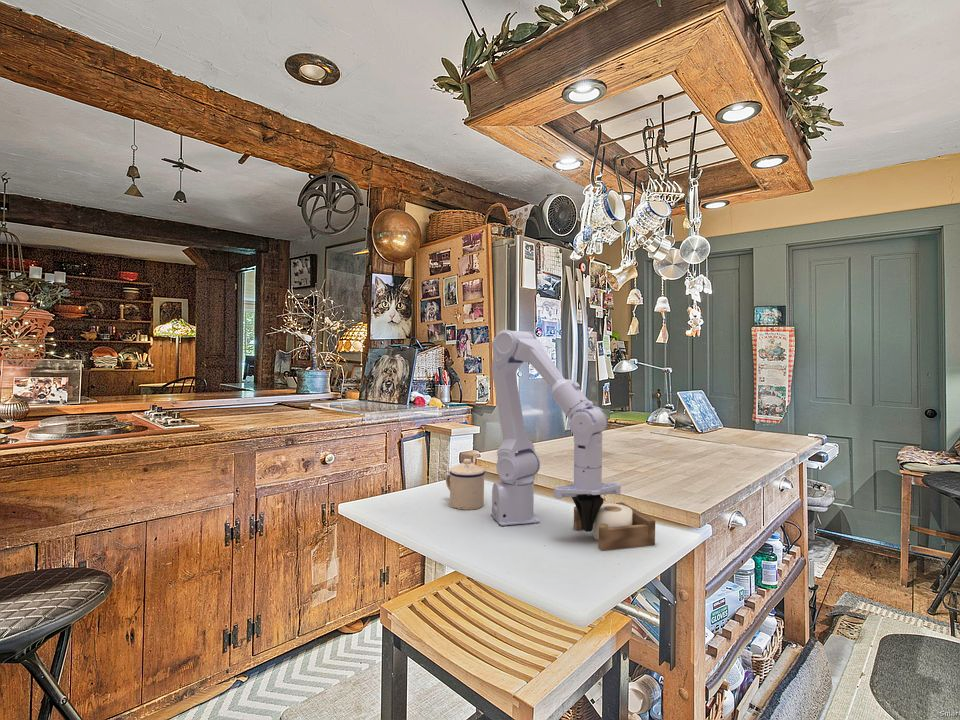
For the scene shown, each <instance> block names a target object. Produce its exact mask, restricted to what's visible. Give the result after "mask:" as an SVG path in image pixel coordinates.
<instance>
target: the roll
mask: <svg viewBox="0 0 960 720" xmlns="http://www.w3.org/2000/svg"><path fill="white" fill-rule="evenodd" d="M599 524H607V525H608V528H609V527H619V526H630V525H632V509H631V508H629V507H627V506H624V505H620V504H616V503H612V502H608V503H607V502H603V504H602V506H601V507H600V509H599V511H598V513H597V515H596V518H595V520H594V524H593V529H592V537H593V538H594V540H596V541H598V542H599Z"/></svg>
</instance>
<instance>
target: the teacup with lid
mask: <svg viewBox="0 0 960 720" xmlns="http://www.w3.org/2000/svg"><path fill="white" fill-rule="evenodd" d="M485 474H486V471H485V469H484V467H482V466H479V465H477V464H475V463H474V462H472V459H471V458H463V462H462V463H459V464H458V465H455V466H452V467H451V468H450V469H449V472H448V473H447V474H446V475H445V484H446V487H447V489H448V491H449V505H450V506H451V507H452V508H453V507H454V508H453V509H456V508H457V509H456V510H461V509H463V510H462V511H472V510H473V509H474V510H477V509H481V508H482V507H483V506H484V505H485ZM480 507H481V508H480Z"/></svg>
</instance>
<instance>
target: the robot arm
mask: <svg viewBox="0 0 960 720" xmlns="http://www.w3.org/2000/svg"><path fill="white" fill-rule="evenodd" d="M543 347H544V346H543V342H542V341H541V340H540V339H539V338H538V337H537V335H536V334H535V333H534V332H532V331H530V330H525V331H519V330H510V329H503V330H500V331H499V332H497V334H496V335H495V336H494V339H493V340H492V341H491V349H492V354H493V356H492V363H491V374H492V375H491V376H492V379H493V380H492V381H493V385H494V391H495V399H496V404H497V410H498V415H499V421H500V422H499V423H500V428H501V434H502V443H501V444H500V446H499V448H498V449H497V451H496V454H497V461H496V465H495V466H496V473H497V475H498V477H499V478H500V481H498V482H494V483H493V484H492V490H491V499H492V500H491V512H490V515H491V516H492V517H493V518H494V520H495V521H496V522H497V523H498V524H499V525H500V526H501V527H502V526H513V525H524V524H525V525H527V524H535V523H536V524H537V523H540V519H539V518H538V517H536V516H535V514H534V505H535V504H534V496H535V494H534V493H535V492H534V491H535V488H534V487H535V486H534V485H535V480H536V475H537V474H538V473H539V471H540V469H541V460H540V457H539V455H538V453H537V451H536V450H535V445H534V443H533V442H532V441H531V440H530V439H528V437H527V433H526V427H525V422H524V415H523V409H522V405H521V404H522V403H521V399H520V391H519V387H518V380H517V375H516V372H517V371H518V370H519V368H520V367H521V366H522V365H523V364H524V363H528V364H530V365H531V366H532V367H533V368H534V369H535V371H536V372H537V373H538V374H539V375H540V377H542V378H543V380H544V381H545V382H546V383H547V384H548V385H549V387H550V388H551V395H550V396H551V398H552V399H553V400H554V402H556V404H557V405H558V406H559V408H560V409H561V411H562V412H563V413H564V414H565V416H566V417H567V418H568V420H569V421H568V427H569V430H570V431H571V433H572V435H573V443H574V445H573V450H574V451H573V483H571V484H570V483H569V484H566V485H562V486H561V485H559V486H553V497H554V498H556V499H557V500H561V499H563V498H571V499H572V500H573V503H574V505H575V506H576V508H577V510H578V513H579V516H580V520H581V525H582V529H583V530H582V531H585V532H586V533H587V532H593V529H592V528H593V524H594V520H595V518H596V515H597V513H598V511H599V509H600V507H601V506H602V504H603V503H604V497H602V495H603V496H604V495H618V496H619V495H621V492H622V491H621V487H622V486H621V485H620V484H618V483H616V482H612V483H611V482H602V474H603V473H602V470H603V432H604V431H605V430H606V429H607V426H608V418H607V414H606V413H605V411H604V409H602V407H599V406H595V405H594V403H593V401H592V400H589V399H588V398H587V396H586V395H585V394H584V393H583V391H582V390H581V389H580V388H581V385H580V384H579V382H577V381H575V382H574V381H573V380H572V379H565V378H564V376H563V375H562V374H561V372H560V370H559V369H558V368H557V366H556V365H555V364H554V362H553V360H552V359H551V358H550V356H549V355H548V353H547V352H546V351H545V349H544V348H543Z"/></svg>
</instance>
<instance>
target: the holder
mask: <svg viewBox="0 0 960 720" xmlns="http://www.w3.org/2000/svg"><path fill="white" fill-rule="evenodd" d="M615 504H620V505H624V506H627V507H629V508H631V509H632V525H630V526H619V527H609V528H608V525H607V524H599V541H598V549H599V550H600V551H601V552H602V551H603V552H604V551H612V550H619V549H621V548H622V549H630V547H631V548H638V547H648V546H655V545H656V520H655V519H653V518H651V517H650V516H648V515H646V514H644V513H643V512H641V511H639V510H637V509H635V508H634V507H632V506H629V505H628V504H626V503H624V502H621V501H620V502H616V503H615ZM573 529H574V530H575V531H584V530H583V529H582V525H581V520H580V516H579V513H578V510H577V508H576V505H575V506H574V507H573ZM592 530H593V528H592Z"/></svg>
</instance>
